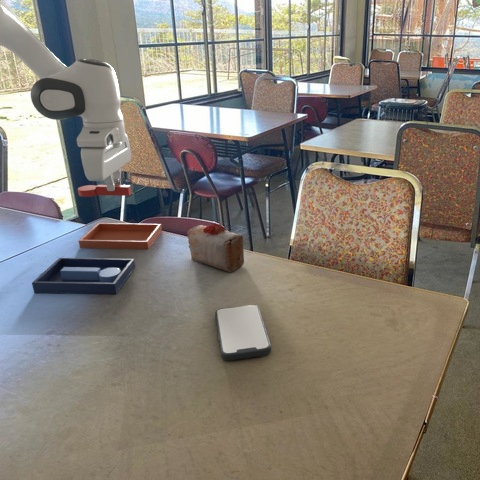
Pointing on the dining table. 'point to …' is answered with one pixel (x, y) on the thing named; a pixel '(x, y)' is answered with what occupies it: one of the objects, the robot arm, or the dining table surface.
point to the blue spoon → (90, 274)
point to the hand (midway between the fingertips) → (114, 188)
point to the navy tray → (55, 284)
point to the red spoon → (104, 190)
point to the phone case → (241, 332)
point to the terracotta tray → (121, 236)
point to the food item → (216, 247)
